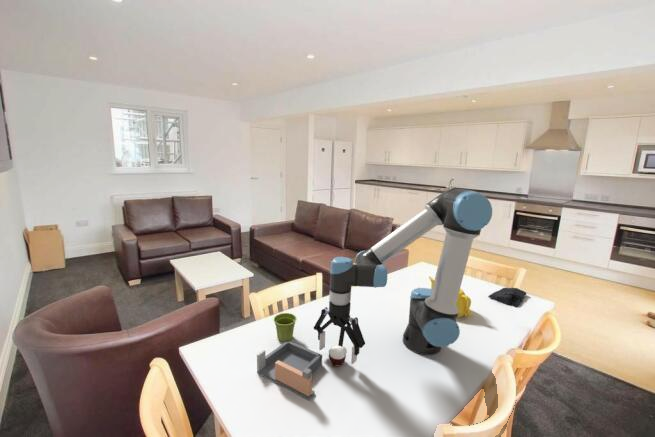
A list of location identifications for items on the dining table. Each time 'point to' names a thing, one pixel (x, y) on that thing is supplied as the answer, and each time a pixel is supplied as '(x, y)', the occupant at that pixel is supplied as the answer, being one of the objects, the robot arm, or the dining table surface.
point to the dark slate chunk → (508, 296)
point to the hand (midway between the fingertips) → (337, 354)
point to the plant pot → (285, 326)
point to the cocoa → (338, 351)
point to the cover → (294, 377)
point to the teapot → (460, 302)
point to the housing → (288, 362)
